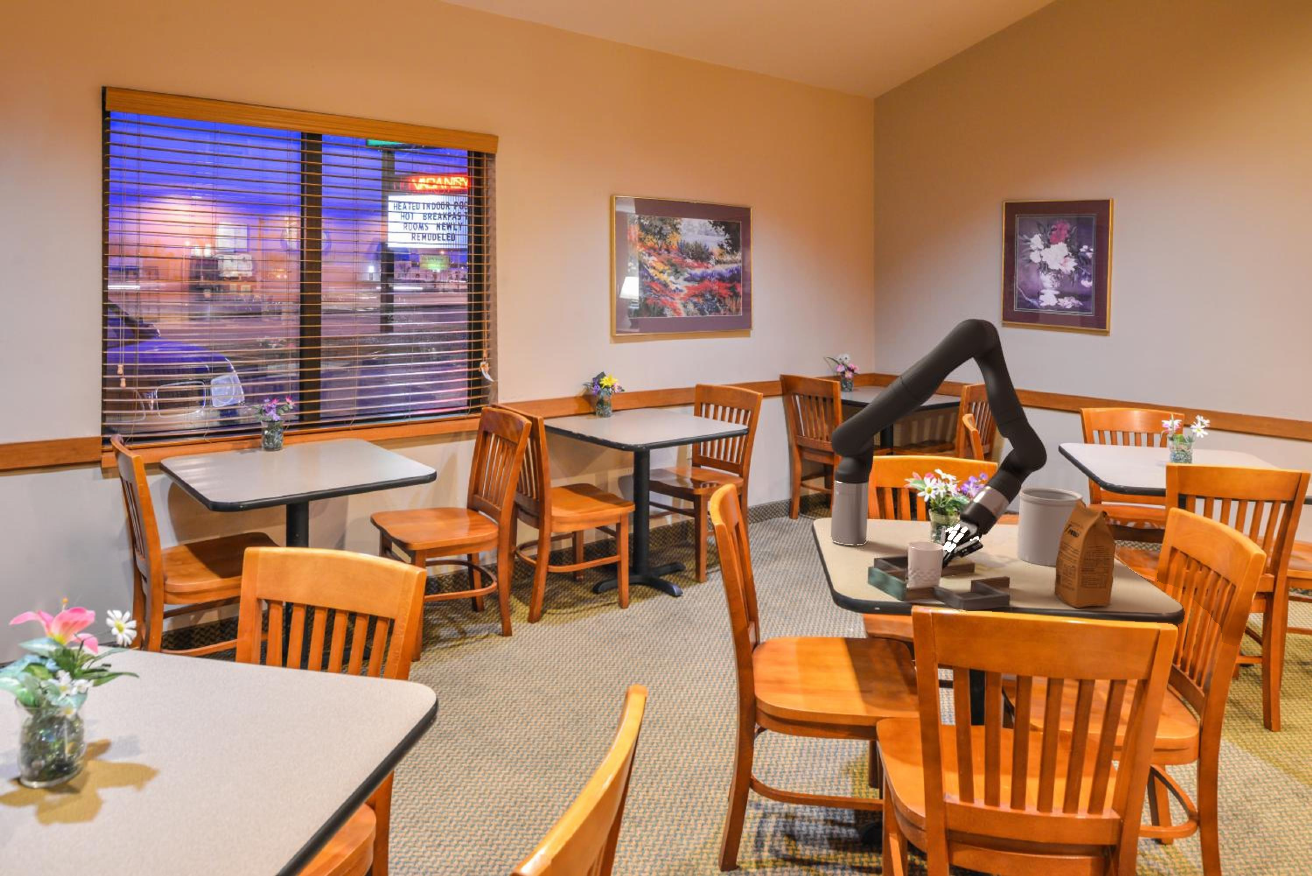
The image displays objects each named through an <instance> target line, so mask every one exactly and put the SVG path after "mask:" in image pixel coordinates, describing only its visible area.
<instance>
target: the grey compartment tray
mask: <svg viewBox="0 0 1312 876" xmlns="http://www.w3.org/2000/svg"><path fill="white" fill-rule="evenodd" d="M867 568H868V570H867V584H868V583H869V585H870V586H872V587H874V588H875V589H878V590H879V591H881V592H883V593H885V594H887V595H889V596H891V597H892V598H895V599H897V600H898V601H901V602H904V601H913V600H920V599H922V600H923V599H928V598H932V599H933V598H934V599H936V600H937V601H939V602H941V603H944V604H946V605H947V606H950V607H951V608H954V609H955V608H956V610H958V609H963V610H974V611H980V610H988V609H995V608H1003V607H1010V602H1011V601H1010V600H1011V594H1009V593H1007V592H1004V591H1002V590H1003V589H1004V590H1005V589H1010V587H1011V586H1010V584H1011V577H1010V576H1006V575H1005V576H998V577H997V576H996V577H989V578H979V579H972V580H970V588H969V589H970V590H969V591H966V592H958V593H954V592H951V591H949V590H948V589H945V588H943V587H941V586H940V585H939V586H937V585H935V584H934V585H925V586H916V587H909V586H908V585H907V584H908V583H907V582H905V581H906V580H909V575H908V554H901V555H894V556H885V557H884V556H882V557H881V556H880V557H874V558H873V565H872V566H868V567H867ZM975 568H976V563H975V562H973V561H967V562H960V563H951V564H950V563H949V564H948V566H946V567H945V568H944V569H941V577H940V578H943V576H945V577H951V576H952V575H954V576H959V575H961V576H962V575H969V574H970V575H971V574H975Z"/></svg>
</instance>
